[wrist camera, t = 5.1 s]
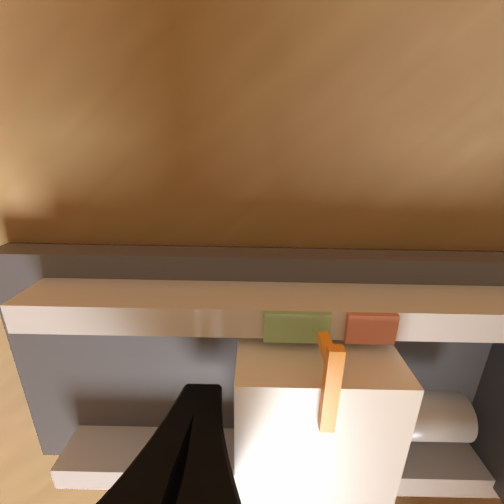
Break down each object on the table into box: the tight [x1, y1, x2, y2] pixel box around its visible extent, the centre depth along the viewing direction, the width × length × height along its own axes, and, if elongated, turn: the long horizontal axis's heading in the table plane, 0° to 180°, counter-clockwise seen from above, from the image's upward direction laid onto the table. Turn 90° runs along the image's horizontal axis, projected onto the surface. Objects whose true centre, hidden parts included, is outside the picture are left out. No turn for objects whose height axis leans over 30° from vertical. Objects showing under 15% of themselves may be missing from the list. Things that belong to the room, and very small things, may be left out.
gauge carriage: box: [234, 331, 478, 504], centre depth 10 cm, size 8×7×4 cm
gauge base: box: [0, 243, 504, 504], centre depth 11 cm, size 22×10×5 cm, turn 89°
